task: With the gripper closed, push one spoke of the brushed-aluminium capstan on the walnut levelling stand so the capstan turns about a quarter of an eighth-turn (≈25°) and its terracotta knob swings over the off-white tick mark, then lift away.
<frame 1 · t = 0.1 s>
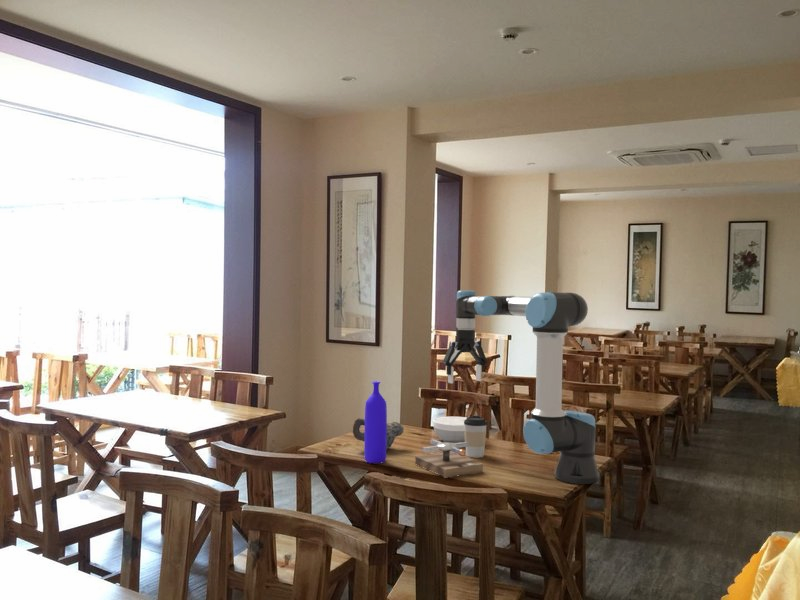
hand: (464, 382, 272), 28 cm above the table, fingers open, 13 cm apart
teapot: (378, 449, 275), on the table
level stand: (448, 468, 248), on the table
coffee cup: (474, 455, 267), on the table
capstan: (447, 447, 246), point 8 cm above the table, hinge at 0.0°
bowl: (454, 441, 291), on the table
bottle: (375, 461, 256), on the table
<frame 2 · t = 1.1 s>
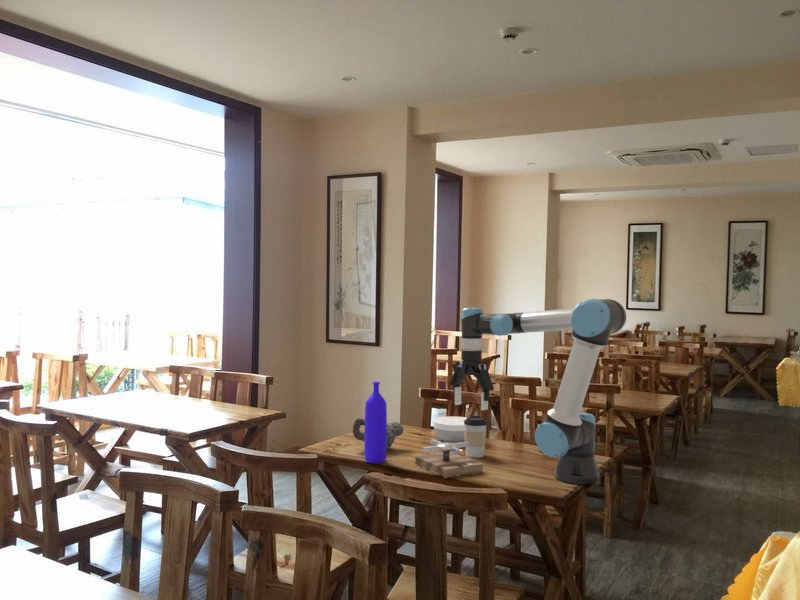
hand: (471, 407, 251), 22 cm above the table, fingers open, 13 cm apart
nothing on the table moved.
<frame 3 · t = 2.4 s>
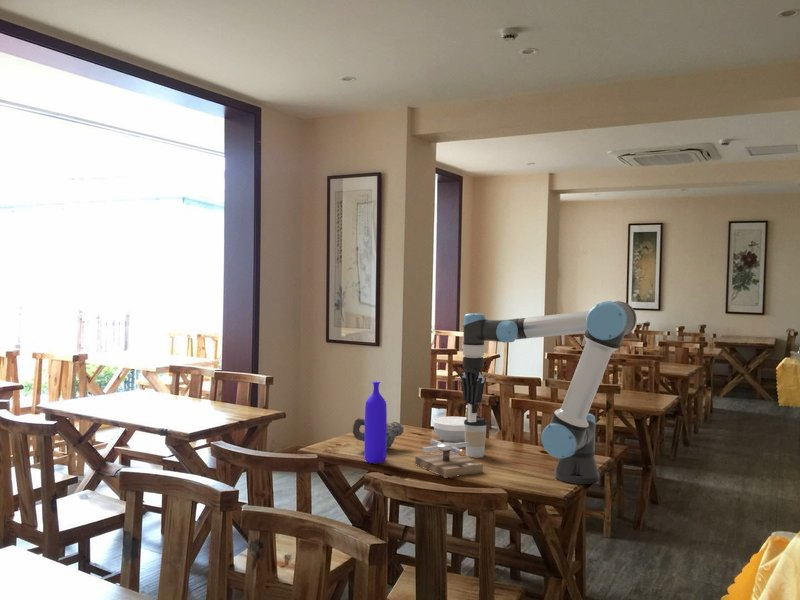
hand: (471, 421, 245), 18 cm above the table, fingers closed
nothing on the table moved.
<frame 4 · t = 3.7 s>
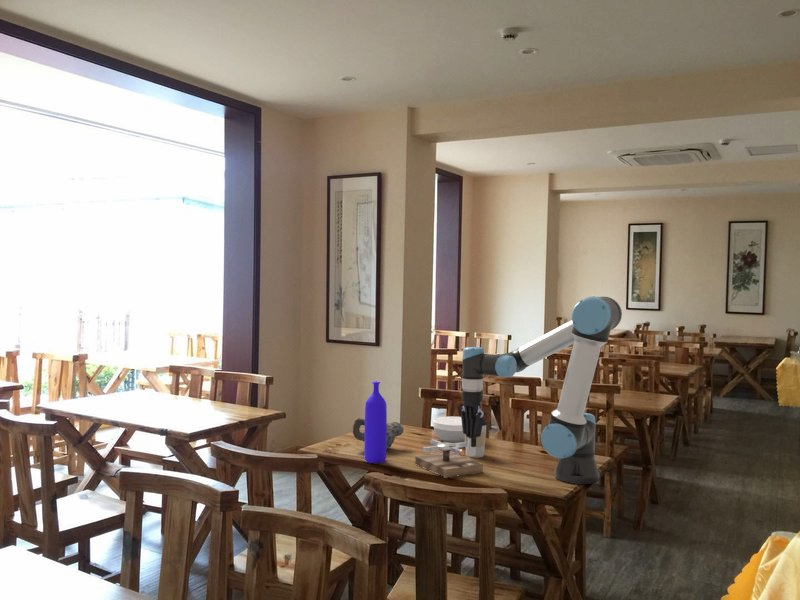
hand: (471, 455, 245), 5 cm above the table, fingers closed
nothing on the table moved.
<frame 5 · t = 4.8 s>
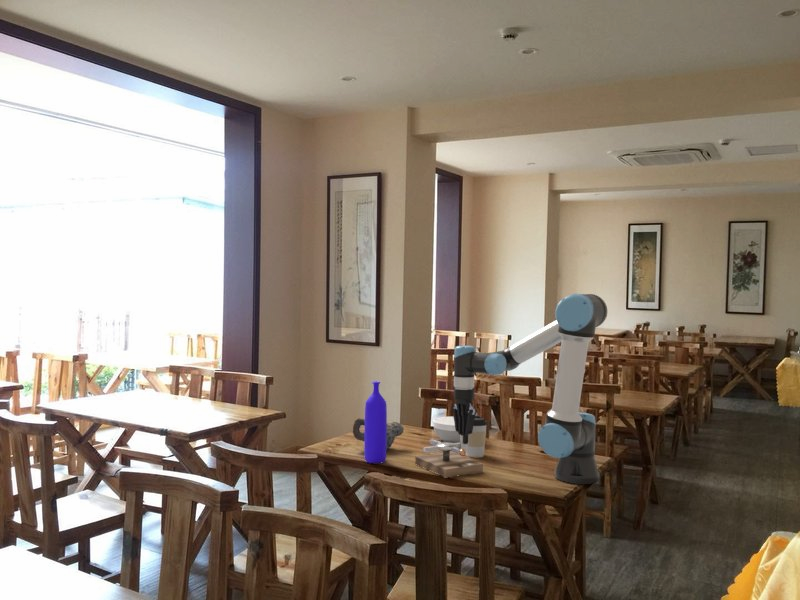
hand: (463, 452, 249), 5 cm above the table, fingers closed
capstan: (447, 447, 246), point 8 cm above the table, hinge at 1.5°, touching gripper
everything else where it was.
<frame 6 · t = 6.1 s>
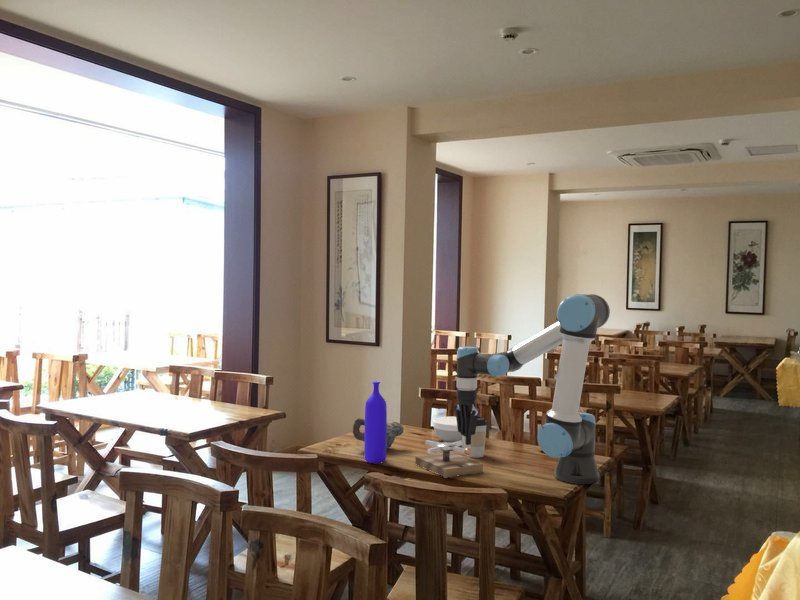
hand: (466, 452, 250), 5 cm above the table, fingers closed
capstan: (447, 447, 246), point 8 cm above the table, hinge at 16.8°
everything else where it was.
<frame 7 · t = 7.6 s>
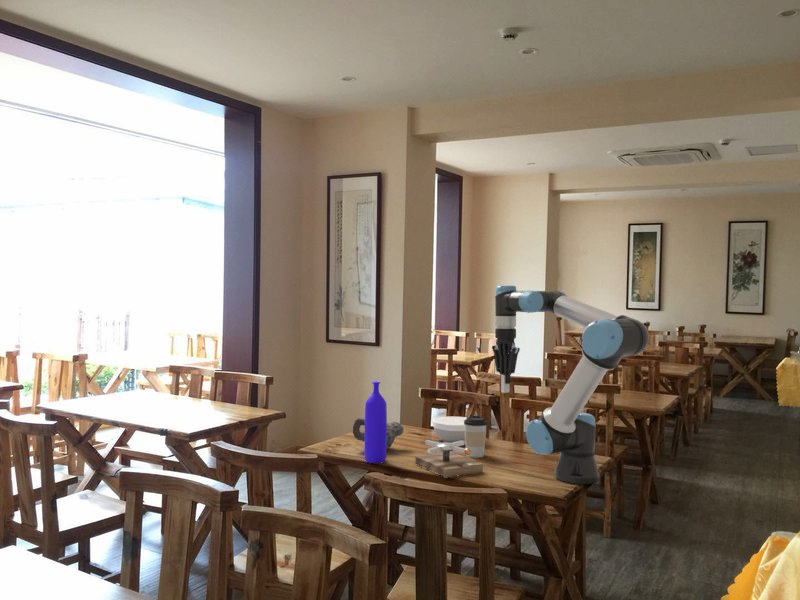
hand: (505, 392, 248), 28 cm above the table, fingers closed
nothing on the table moved.
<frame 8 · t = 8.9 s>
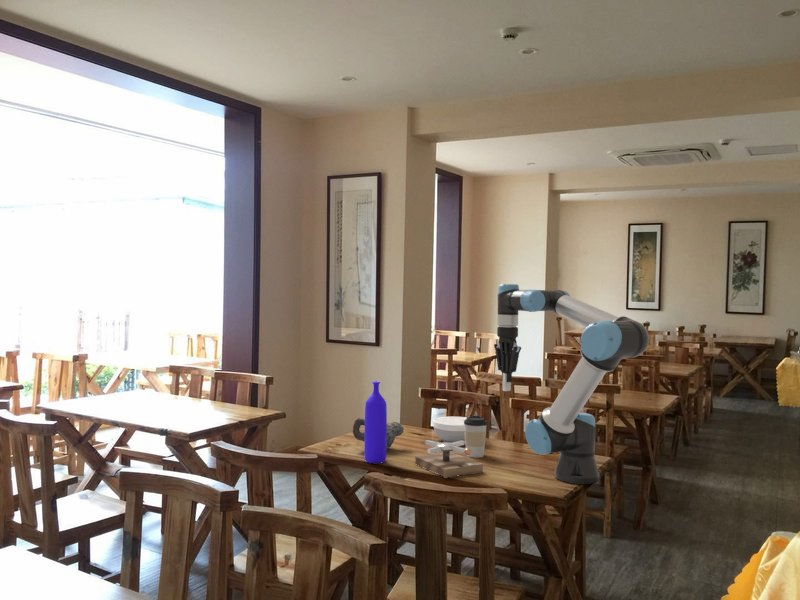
hand: (506, 390, 249), 28 cm above the table, fingers closed
nothing on the table moved.
at the end: capstan at +17° (first picture: +0°) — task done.
